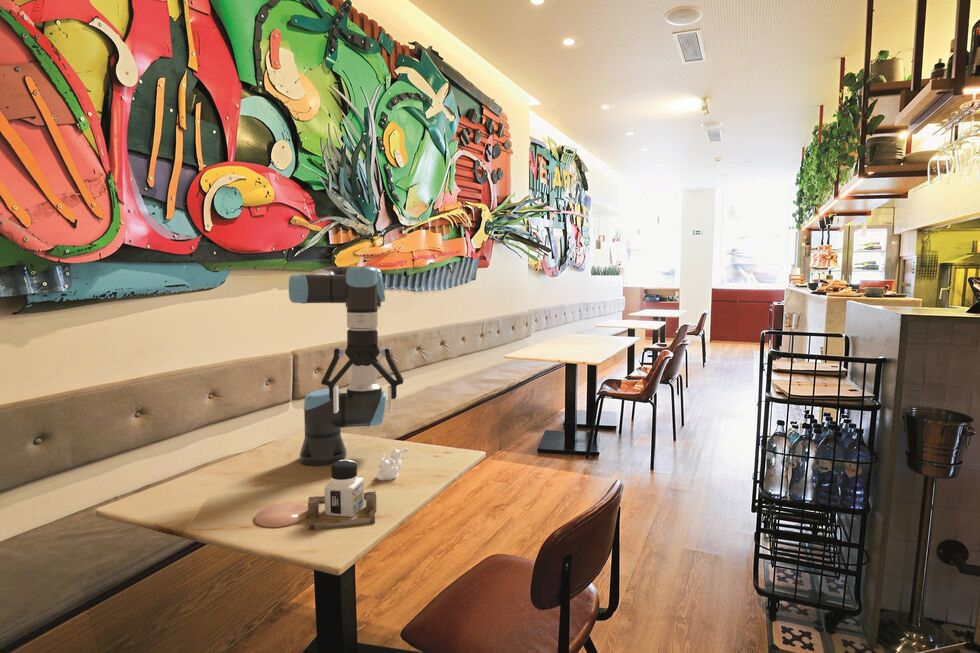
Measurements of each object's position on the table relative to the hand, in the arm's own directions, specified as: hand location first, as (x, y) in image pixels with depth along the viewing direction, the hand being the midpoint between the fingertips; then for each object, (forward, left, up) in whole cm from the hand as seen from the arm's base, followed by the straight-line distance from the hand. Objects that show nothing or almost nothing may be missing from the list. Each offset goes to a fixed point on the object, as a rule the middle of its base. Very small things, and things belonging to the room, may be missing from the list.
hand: (363, 411), depth 142 cm
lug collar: (-2, -6, -27) cm, 28 cm away
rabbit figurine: (-25, +9, -27) cm, 38 cm away
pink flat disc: (-3, -21, -27) cm, 34 cm away
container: (-3, -5, -27) cm, 28 cm away
